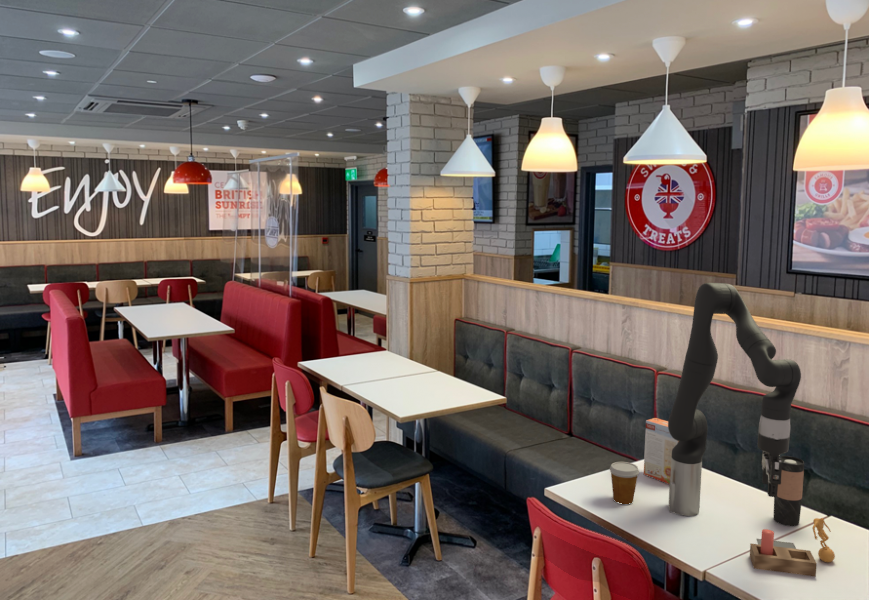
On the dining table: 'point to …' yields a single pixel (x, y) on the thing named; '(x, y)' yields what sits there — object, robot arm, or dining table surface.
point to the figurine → (823, 541)
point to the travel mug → (789, 492)
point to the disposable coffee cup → (623, 481)
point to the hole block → (784, 560)
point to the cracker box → (658, 450)
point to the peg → (767, 542)
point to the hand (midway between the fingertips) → (769, 489)
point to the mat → (780, 544)
